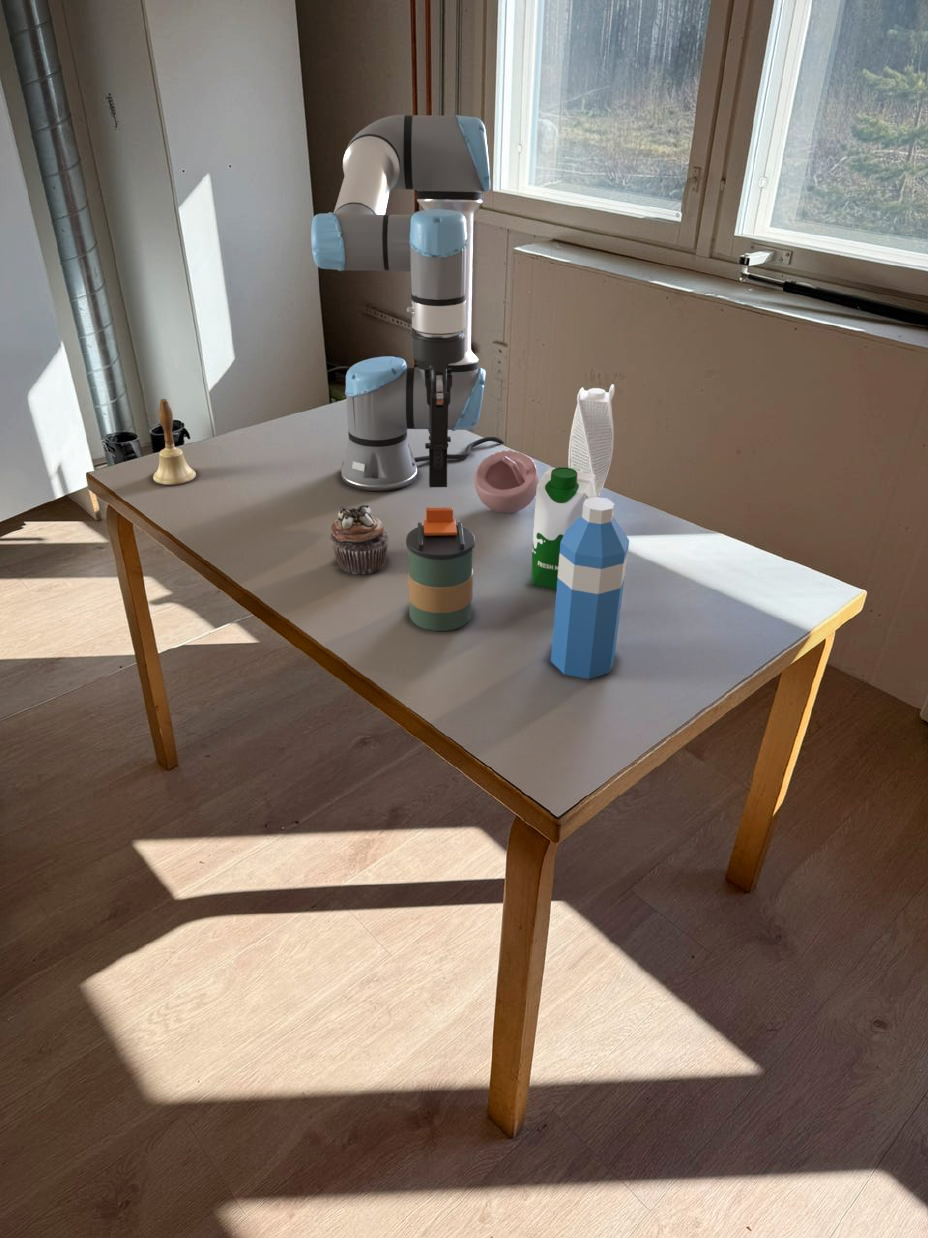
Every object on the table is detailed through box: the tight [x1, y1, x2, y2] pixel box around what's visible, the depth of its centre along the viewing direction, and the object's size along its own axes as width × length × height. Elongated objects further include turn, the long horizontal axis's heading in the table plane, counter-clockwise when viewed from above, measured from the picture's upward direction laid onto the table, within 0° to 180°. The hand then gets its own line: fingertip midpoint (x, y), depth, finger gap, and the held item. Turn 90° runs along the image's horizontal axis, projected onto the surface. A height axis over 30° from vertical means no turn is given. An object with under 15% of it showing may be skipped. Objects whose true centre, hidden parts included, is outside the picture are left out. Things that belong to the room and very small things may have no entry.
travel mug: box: [407, 548, 474, 632], centre depth 140 cm, size 10×10×12 cm
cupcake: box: [330, 504, 390, 575], centre depth 154 cm, size 10×10×10 cm
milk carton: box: [531, 466, 595, 590], centre depth 148 cm, size 9×9×20 cm
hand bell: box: [152, 398, 197, 486], centre depth 181 cm, size 8×8×16 cm
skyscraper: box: [567, 383, 615, 497], centre depth 160 cm, size 8×8×28 cm
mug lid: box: [405, 521, 476, 560], centre depth 136 cm, size 10×10×2 cm
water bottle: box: [550, 496, 630, 680], centre depth 127 cm, size 9×9×25 cm
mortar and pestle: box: [474, 449, 540, 514], centre depth 172 cm, size 12×12×12 cm
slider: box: [423, 507, 457, 536], centre depth 137 cm, size 4×5×2 cm
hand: (438, 485), depth 142 cm, fingers closed
